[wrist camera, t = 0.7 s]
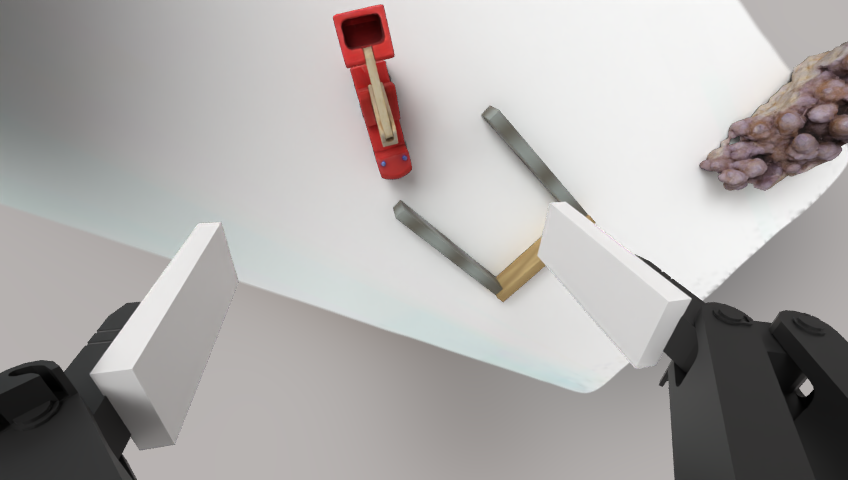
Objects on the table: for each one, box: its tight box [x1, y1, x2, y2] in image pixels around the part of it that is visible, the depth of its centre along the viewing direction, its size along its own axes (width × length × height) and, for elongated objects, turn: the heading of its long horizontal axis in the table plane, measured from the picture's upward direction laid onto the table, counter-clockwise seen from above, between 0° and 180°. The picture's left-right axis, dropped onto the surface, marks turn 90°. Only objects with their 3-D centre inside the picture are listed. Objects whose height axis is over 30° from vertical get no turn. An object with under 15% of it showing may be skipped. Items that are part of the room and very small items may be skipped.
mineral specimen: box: [700, 42, 848, 191], centre depth 38 cm, size 20×10×10 cm
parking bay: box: [393, 106, 596, 302], centre depth 40 cm, size 18×14×3 cm
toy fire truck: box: [333, 4, 412, 180], centre depth 29 cm, size 3×14×10 cm, turn 12°
